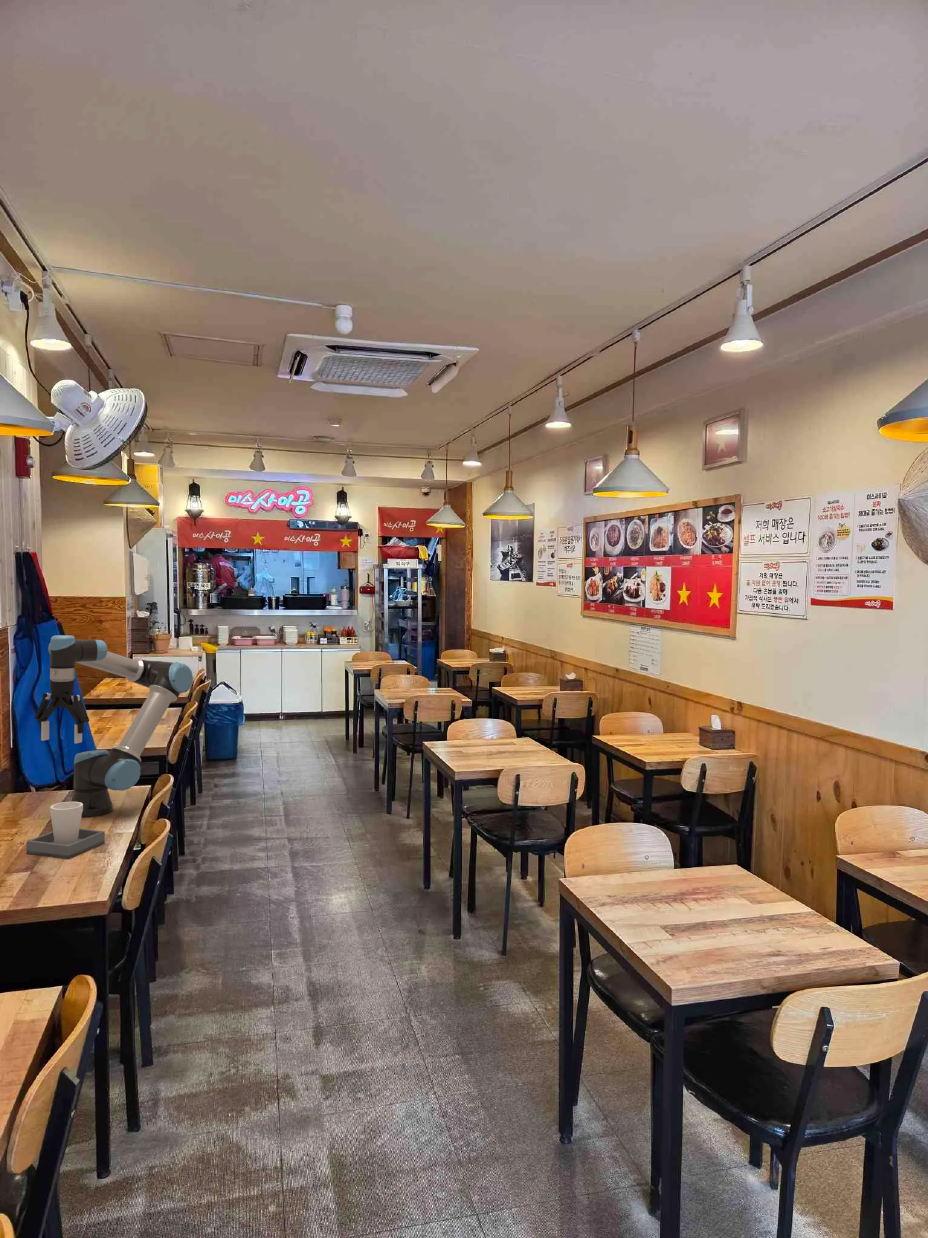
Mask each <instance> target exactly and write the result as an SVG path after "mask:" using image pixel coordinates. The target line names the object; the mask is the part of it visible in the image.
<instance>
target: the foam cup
mask: <svg viewBox="0 0 928 1238" xmlns="http://www.w3.org/2000/svg"><path fill="white" fill-rule="evenodd" d="M82 812H83V804H82V803H80V802H71V801H64V802H57V803H54V804H52V805H51V806H50V807H49V815H50V818H51V826H52V831H53V835H54V842H55V843H56V844H64V845H70V844H72V843H75V842H77V841H78V835H79V829H81V828H80V827H81V822H82V817H81V816H82Z"/></svg>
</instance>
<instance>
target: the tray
mask: <svg viewBox="0 0 928 1238" xmlns="http://www.w3.org/2000/svg"><path fill="white" fill-rule="evenodd" d="M105 834H106V831H103V830H95V829H88V828H80V829H79V835H78V841H77V842H75V843H72V844H70V845H64V844H56V843H55V842H54V835H53V830H52V831H49V832H47V833H44V834H42V835H39V836H36V837H33V838H31V839H28V840H26V845H25V846H26V852H25V853H26V854H28V855H35V856H36V855H37V856H43V857H49V858H51V857H52V858H59V859H65V860H70V859H72V858H74V857H77V856H79V855H81V854H83V853H86V852H88V851H90V850H93V849H95V848H98V847H100V846H102V845H104V844H105V842H106V841H105V839H106V838H105V837H106V835H105Z"/></svg>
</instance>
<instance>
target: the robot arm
mask: <svg viewBox="0 0 928 1238" xmlns="http://www.w3.org/2000/svg"><path fill="white" fill-rule="evenodd" d="M47 649H48V650H47V651H48V653H49V667H50V668H49V680H51V681H49V691H50V692H44V693H43V694H42V697H41V698H42V699H41V702H40V704H39V706H38V708H37V710H36V713H35V715H34V719H35V720H38V721H39V730H40V731H41V733H40V736H41V737H40V740H41V741H42V742H43V741H48V740H50V720H49V717H51V715H52V714H53V713H54V711H55V710H56V709H57V708H65V710H67V711H68V713H69V714H70V716H71V717H72V718H73V720H74V721H75V724H74V734H73V735H74V742H73V743H74V744H81V743H82V742H83V734H84V731H85V730H84V728H85V727H84V726H85V725H84V724H86V723H89V722H90V717H89V716H88V713H87V710H86V708H85V705H84V703H83V699H82V695H81V694H76V695H75V694H74V691H75V681H74V680H75V678H76V676H75V664H79V665H83V666H87V667H89V668H93V669H97V670H101V671H103V672H106V673H111V674H113V675H116V676H119V677H123V678H126V680H127V681H128V682H131V683H134V684H137V685H140V686H142V687H145V688H147V689H149V694H148V696H147V697H146V699H145V700H144V702H143V704H142V706H141V707H140V708H139V710H138V713H137V714H136V716H135V717H134V719H133V721H132V722H131V724H130V726H129V728H128V729H127V730H126V733H125V734H124V735H123V737H122V739H121V741H120V742H119V744H118V745H116V746H114V747H111V748H110V751H109V750H107V749H97V750H96V749H95V750H89V751H83V752H79V753H76V754H75V756H74V758H73V759H74V761H73V794H72V797H71V800H70V802H80V803H82V804H83V812H82V816H81V818H83V817H84V818H87V817H88V818H89V817H97V816H102V815H107V814H109V813H111V812H112V811H113V809H114V807H113V805H114V803H113V802H112V799H111V796H110V792H109V790H111V791H121V792H122V791H127V790H129V789H131V788H132V787H133V786H135V785H136V784H137V783H138V781H139V779H140V776H141V770H142V767H141V766H140V764H141V763H142V758H141V754H143V751H144V749H145V748H146V745H148V742H149V741H150V739H151V737H152V736H153V734H154V732H155V730H156V729H157V726H158V725H159V723H160V722H161V720H162V718H163V716H164V715H165V713H166V711H167V709H168V708H169V706H170V704H171V703H173V702H176V701H177V700H178V698H179V697H180V696H181V694H183V693H187V692H189V690H190V689H192V685H193V682H194V676H193V672H192V670H191V668H190V667H189V666H188V665H187V664H185V663H181V662H177V661H175V662H171V661H170V662H169V661H162V660H146V659H141V658H137V657H136V658H133V659H132V658H129V657H127V656H123V655H121V654H118V653H114V652H112V651H108V646H107V644H106V642H105V641H104V640H102V639H79V638H78V639H76V638H75V636H74V635H70V634H69V635H68V634H67V635H66V634H65V635H63V634H62V635H61V634H59V635H53V636H51V638H50V643H49V644H48V648H47ZM50 701H51V702H50Z"/></svg>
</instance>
